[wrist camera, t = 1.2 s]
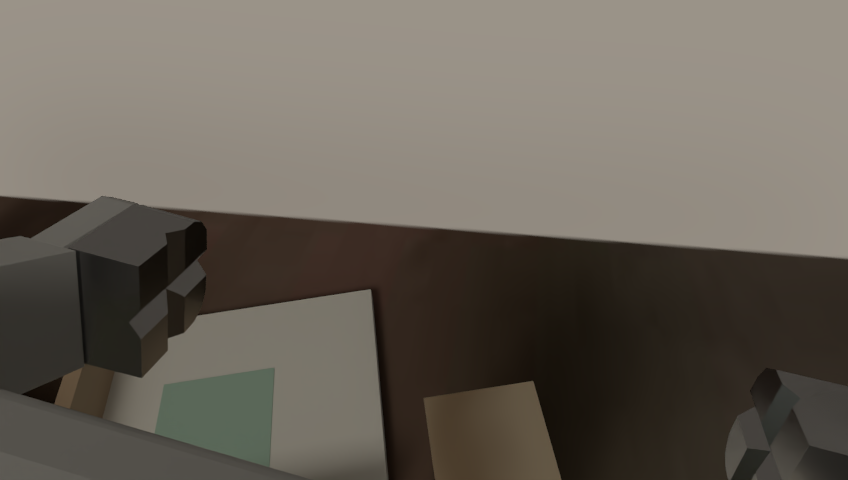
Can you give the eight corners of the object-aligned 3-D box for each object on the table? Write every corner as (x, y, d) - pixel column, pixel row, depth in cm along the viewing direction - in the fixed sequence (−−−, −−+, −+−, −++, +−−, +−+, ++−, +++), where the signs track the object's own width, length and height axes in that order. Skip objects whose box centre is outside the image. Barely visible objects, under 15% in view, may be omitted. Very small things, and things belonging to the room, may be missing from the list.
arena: (372, 298, 48) (363, 253, 45) (393, 539, 35) (382, 499, 32) (117, 337, 47) (89, 294, 44) (48, 595, 35) (3, 560, 32)
